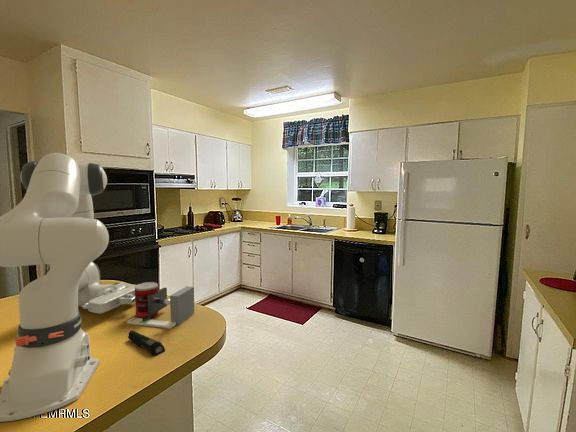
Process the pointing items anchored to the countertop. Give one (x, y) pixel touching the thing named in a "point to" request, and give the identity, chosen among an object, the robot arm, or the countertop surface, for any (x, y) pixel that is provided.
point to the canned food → (144, 298)
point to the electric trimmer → (146, 343)
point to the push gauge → (173, 310)
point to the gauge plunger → (157, 302)
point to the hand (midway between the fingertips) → (134, 299)
